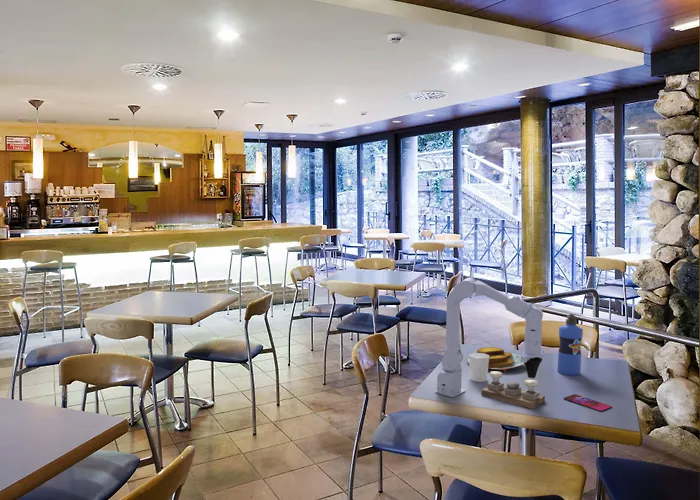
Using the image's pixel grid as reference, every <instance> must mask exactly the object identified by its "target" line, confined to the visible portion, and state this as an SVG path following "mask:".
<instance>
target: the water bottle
mask: <svg viewBox="0 0 700 500" xmlns="http://www.w3.org/2000/svg"><path fill="white" fill-rule="evenodd" d="M577 323H578V321H577V317H576V315H575V314H573V313H569V314H568V315H567V316H566V319H565V324H564V325H561V326H559V327H558V338H559V348H558V352H557V353H558V354H557V373H558V374H561V375H564V376H567V377H568V376H569V377H575V376H576V377H577V376H580V375H581V368H582V367H581V365H582V349H581V348H582V347H581V345H582V341H583V337H584V335H583V333H584V329H583V328H582V327H580V326H578V325H577Z"/></svg>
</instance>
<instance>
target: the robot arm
mask: <svg viewBox="0 0 700 500" xmlns="http://www.w3.org/2000/svg"><path fill="white" fill-rule="evenodd" d="M473 295H474V297H478V296H479V297H480V296H485V297H487V298H489V299H491V300H493V301H496V302H498V303H500V304H502V305H503V306H504V307H505V309H506V311H508V312H509V313H511V314H513V315H516V317H519V318H521V319H524V320H525V327H524V346H523V347H524V348H523V349H524V351H523V353H522V355H520V356H521V362H524V364H523V365H524V367H525V370H526V375H527V378H528V379H529V378H530V379H532V380H535V378H536V376H537V373H538V370H539V367H540V365H541V363H542V362H543V357H544V356H545V353H544V352H545V349H544V348H542V339H543V336H542V335H543V328H542V327H543V322H542V321H543V317H544V312H543V310H542V309H541V308H540V307H539V306H538V305H534V304H532V303H531V302H530V303H528V302H526V301H525V300H524V299H521V296H519V295H517V296H515V295H512V296H508V295H506V294H504V293H502V292H500V291H499V290H497V289H496V288H493V286H490V285H489V284H487V283H485V282H483V281H481V280H478V279H475V278H474V277H470V276H469V277H466V278H464V279H463V280H461V281H460V282H458V283H457V284H455V285H454V287H453V288H452V290H451V291H450V292H449V294H448V296H447V297H446V320H445V322H446V323H445V325H446V326H445V329H446V330H445V333H446V334H445V339H446V340H445V342H446V343H445V348H444V351H443V352H444V353H443V357H442V358H441V365H442V370H440V371H441V372H440V373H438V374H437V378H436V379H437V380H436V381H437V382H436V390H435V391H434V393H436V394H440V395H443V396H446V397H450V398H455V397H456V396H459V395H462V394H463V393H464V392H467V390H466V389H464V388H462V377H463V375H462V372H463V371H462V370H463V367H462V366H461V363H462V362H463V359H464V355H463V353H462V350H461V344H460V336H461V335H460V331H461V330H460V328H461V327H460V325H461V324H460V323H461V302H463V301H465V299H467V298H470V297H472V296H473Z"/></svg>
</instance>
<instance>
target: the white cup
mask: <svg viewBox="0 0 700 500" xmlns="http://www.w3.org/2000/svg"><path fill="white" fill-rule="evenodd" d="M468 358H469V363H468V365H469V367H468V368H469V380H471V381H473V382H476V383H485V382H486V381H488V375H489V373H488V372H489V369H488V366H489V355H487V354H484V353H477V352H472V353H469V357H468Z"/></svg>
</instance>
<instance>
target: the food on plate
mask: <svg viewBox="0 0 700 500" xmlns="http://www.w3.org/2000/svg"><path fill="white" fill-rule="evenodd" d="M476 353H484V354H487V355H489V366H488V370H499V371H501V370H504V371H503V373H507V370H509V369H515V368H518V367H520V366H521V367H522V368H523V367H524V365H525V364H524V362H521V356H522V355H519V354H515V353H512V352H507V351H505V350H504V349H503V348H499V347H495V346H485V347H481V348H479V349H477V351H476ZM466 361H467V363H468V364H469V357H468V358H467V359H466Z"/></svg>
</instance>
